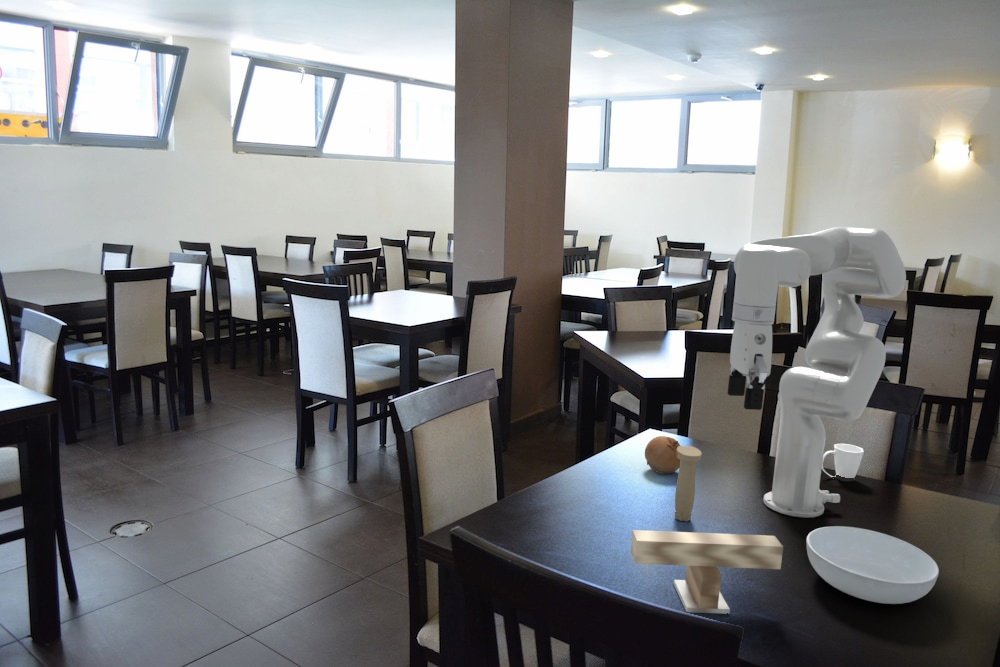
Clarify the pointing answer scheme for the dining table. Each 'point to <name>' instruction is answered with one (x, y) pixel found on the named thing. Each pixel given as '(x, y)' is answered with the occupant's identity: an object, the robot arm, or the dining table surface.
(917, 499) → the dining table surface
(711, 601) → the wooden block on base
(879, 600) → the serving bowl
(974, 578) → the dining table surface
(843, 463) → the cup
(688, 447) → the handle
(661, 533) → the beam
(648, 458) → the onion
